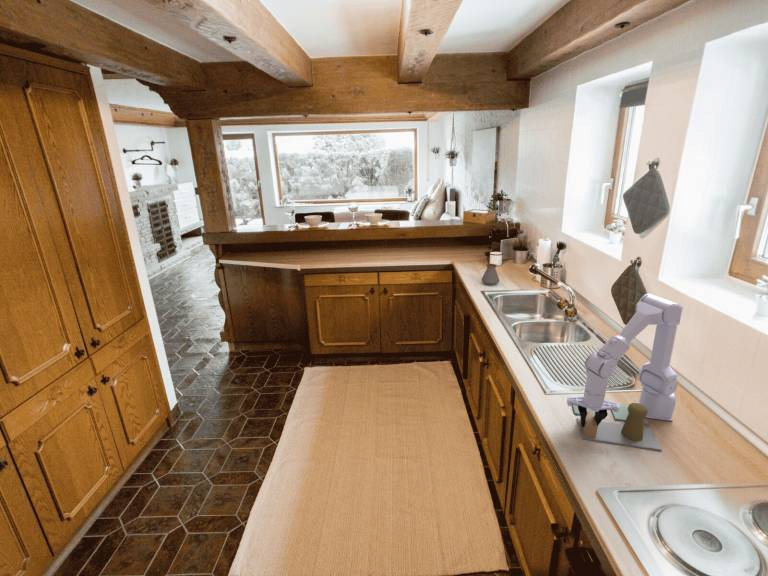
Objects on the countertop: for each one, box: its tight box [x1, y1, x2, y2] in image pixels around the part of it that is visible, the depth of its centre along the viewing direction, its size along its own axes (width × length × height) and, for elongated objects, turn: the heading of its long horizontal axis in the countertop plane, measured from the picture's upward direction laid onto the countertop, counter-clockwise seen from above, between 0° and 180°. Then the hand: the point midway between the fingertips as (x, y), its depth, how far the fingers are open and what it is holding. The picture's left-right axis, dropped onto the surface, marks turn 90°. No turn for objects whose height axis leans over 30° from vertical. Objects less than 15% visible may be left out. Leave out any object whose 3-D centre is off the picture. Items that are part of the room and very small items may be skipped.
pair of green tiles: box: [571, 403, 648, 425], centre depth 139 cm, size 22×9×1 cm, turn 75°
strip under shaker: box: [576, 411, 663, 452], centre depth 128 cm, size 22×10×5 cm, turn 75°
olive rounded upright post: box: [621, 402, 648, 441], centre depth 126 cm, size 6×6×11 cm
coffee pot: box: [481, 255, 500, 287], centre depth 267 cm, size 21×12×15 cm, turn 177°
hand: (588, 426), depth 130 cm, fingers closed on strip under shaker, 3 cm apart
